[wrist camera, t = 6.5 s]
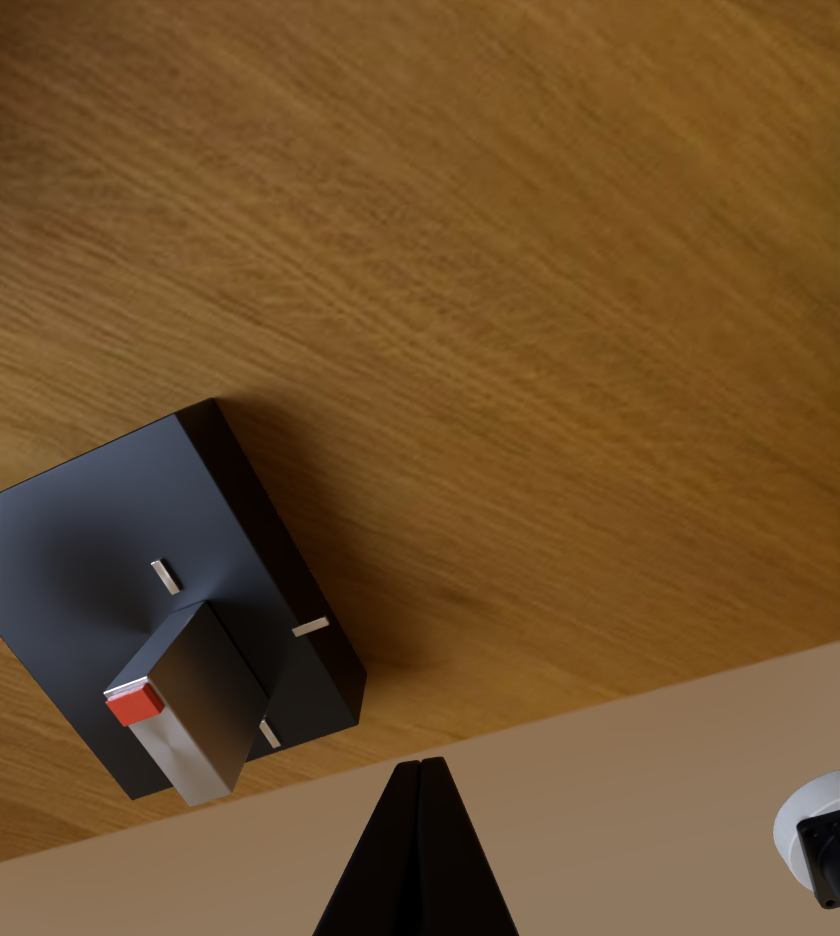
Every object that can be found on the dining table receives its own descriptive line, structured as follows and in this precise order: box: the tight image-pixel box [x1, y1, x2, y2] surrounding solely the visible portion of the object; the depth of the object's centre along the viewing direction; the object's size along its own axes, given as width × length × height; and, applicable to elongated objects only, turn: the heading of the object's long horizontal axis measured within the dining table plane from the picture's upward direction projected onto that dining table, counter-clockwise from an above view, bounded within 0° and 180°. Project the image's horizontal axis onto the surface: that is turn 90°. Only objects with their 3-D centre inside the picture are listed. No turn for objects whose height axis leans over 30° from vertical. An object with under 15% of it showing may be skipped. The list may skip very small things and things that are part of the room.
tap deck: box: [0, 398, 367, 800], centre depth 20 cm, size 14×12×3 cm
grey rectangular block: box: [104, 601, 270, 807], centre depth 17 cm, size 5×2×4 cm, turn 23°
